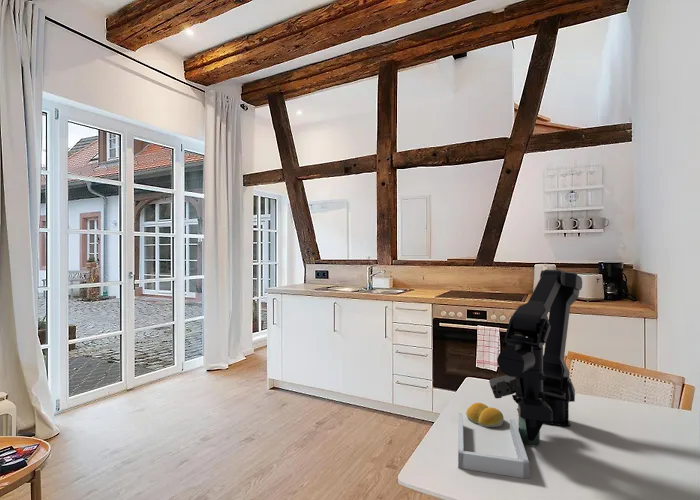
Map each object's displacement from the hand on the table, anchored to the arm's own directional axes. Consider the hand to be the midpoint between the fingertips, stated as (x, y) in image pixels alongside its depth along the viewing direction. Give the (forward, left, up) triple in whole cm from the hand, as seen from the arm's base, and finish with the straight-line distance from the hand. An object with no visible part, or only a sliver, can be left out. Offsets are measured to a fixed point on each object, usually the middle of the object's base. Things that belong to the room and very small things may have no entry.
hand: (529, 435), depth 87 cm
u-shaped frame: (+9, +6, -1) cm, 11 cm away
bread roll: (+9, -9, -2) cm, 13 cm away
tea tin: (0, 0, -1) cm, 1 cm away
